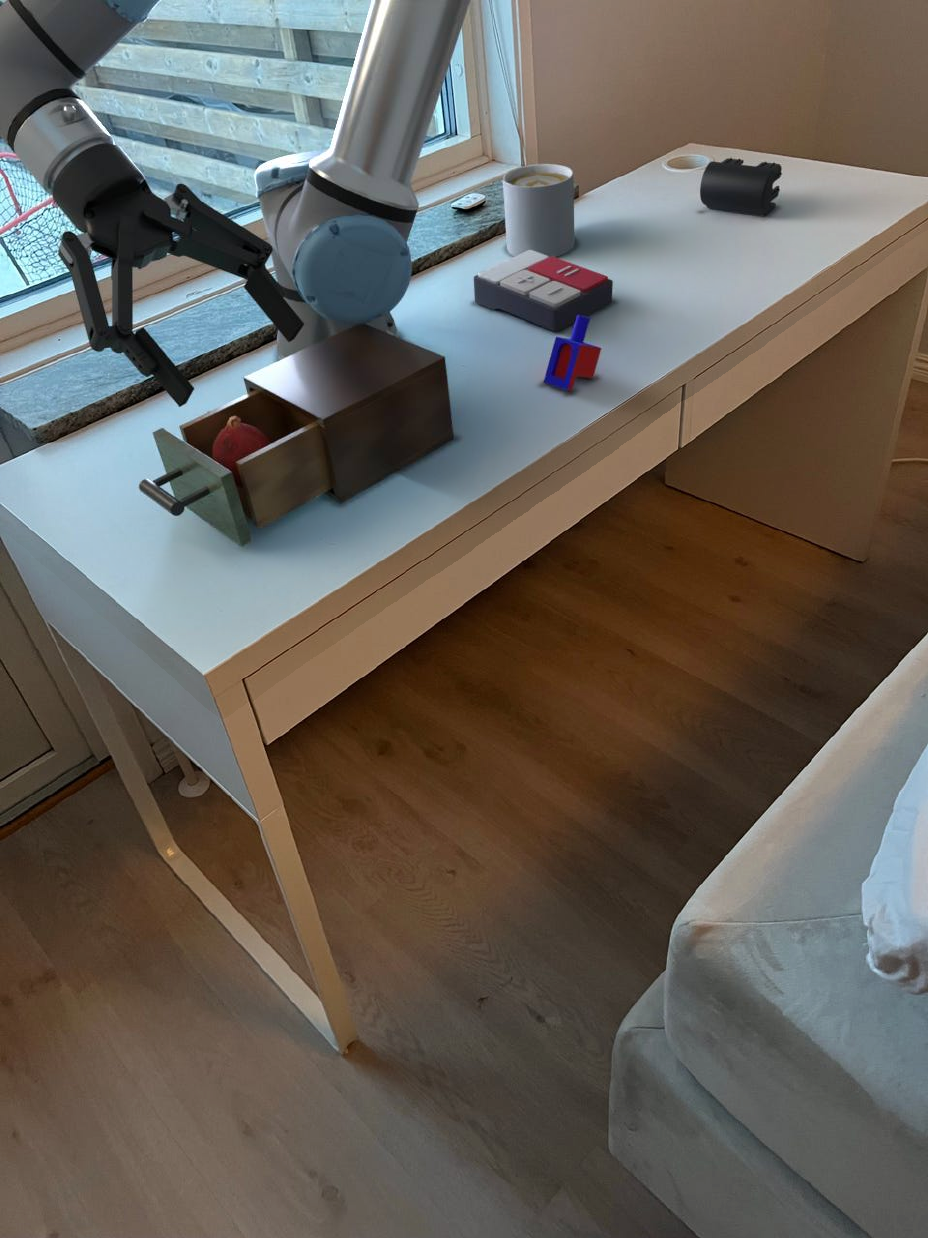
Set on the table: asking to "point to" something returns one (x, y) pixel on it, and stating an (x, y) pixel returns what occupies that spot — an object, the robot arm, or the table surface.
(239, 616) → the table surface
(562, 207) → the coffee mug
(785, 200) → the table surface
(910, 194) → the table surface
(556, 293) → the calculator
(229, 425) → the onion
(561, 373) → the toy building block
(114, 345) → the robot arm
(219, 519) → the drawer
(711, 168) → the end cap
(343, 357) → the cabinet
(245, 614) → the table surface
